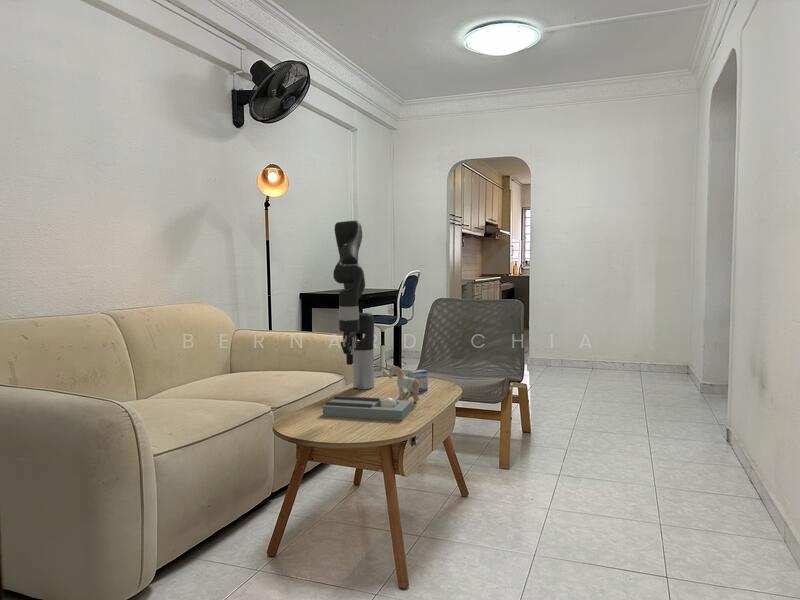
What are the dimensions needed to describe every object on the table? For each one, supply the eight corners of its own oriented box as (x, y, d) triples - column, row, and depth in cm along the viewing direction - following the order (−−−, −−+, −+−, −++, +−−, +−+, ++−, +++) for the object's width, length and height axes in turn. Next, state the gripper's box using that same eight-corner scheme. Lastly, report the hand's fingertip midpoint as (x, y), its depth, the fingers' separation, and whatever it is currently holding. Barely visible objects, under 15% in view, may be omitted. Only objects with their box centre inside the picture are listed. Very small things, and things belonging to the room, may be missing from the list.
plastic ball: (398, 411, 218) (382, 412, 219) (396, 395, 218) (380, 396, 219) (396, 415, 212) (380, 416, 213) (394, 398, 212) (378, 400, 213)
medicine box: (414, 393, 248) (414, 372, 248) (407, 391, 252) (407, 371, 251) (428, 390, 253) (428, 370, 253) (421, 388, 257) (421, 369, 256)
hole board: (337, 405, 228) (337, 394, 228) (412, 409, 221) (412, 398, 220) (322, 415, 214) (322, 403, 214) (402, 420, 206) (402, 408, 206)
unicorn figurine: (390, 395, 244) (390, 363, 244) (428, 402, 232) (428, 368, 231) (379, 398, 239) (379, 366, 238) (417, 405, 227) (417, 371, 226)
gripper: (345, 316, 224) (346, 360, 225) (333, 320, 211) (334, 367, 212) (364, 316, 222) (365, 361, 223) (352, 320, 209) (353, 368, 210)
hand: (350, 364), depth 218 cm, fingers closed
